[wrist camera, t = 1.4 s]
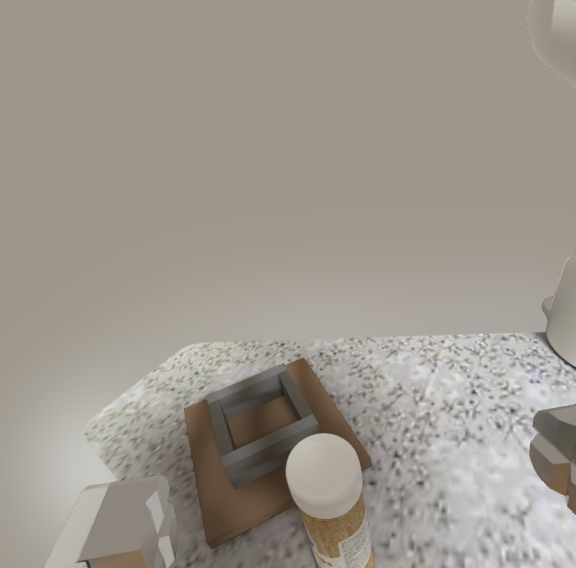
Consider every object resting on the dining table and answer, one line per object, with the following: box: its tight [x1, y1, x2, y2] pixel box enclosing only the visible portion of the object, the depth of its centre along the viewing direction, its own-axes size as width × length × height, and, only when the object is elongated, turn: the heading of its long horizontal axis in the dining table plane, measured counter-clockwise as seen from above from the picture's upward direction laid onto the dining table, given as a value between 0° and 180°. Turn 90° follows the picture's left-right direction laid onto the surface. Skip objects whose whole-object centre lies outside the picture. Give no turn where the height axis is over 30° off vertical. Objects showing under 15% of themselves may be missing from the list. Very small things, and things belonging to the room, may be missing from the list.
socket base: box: [184, 358, 371, 549], centre depth 39 cm, size 16×16×5 cm
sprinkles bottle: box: [286, 433, 375, 568], centre depth 26 cm, size 5×5×13 cm
